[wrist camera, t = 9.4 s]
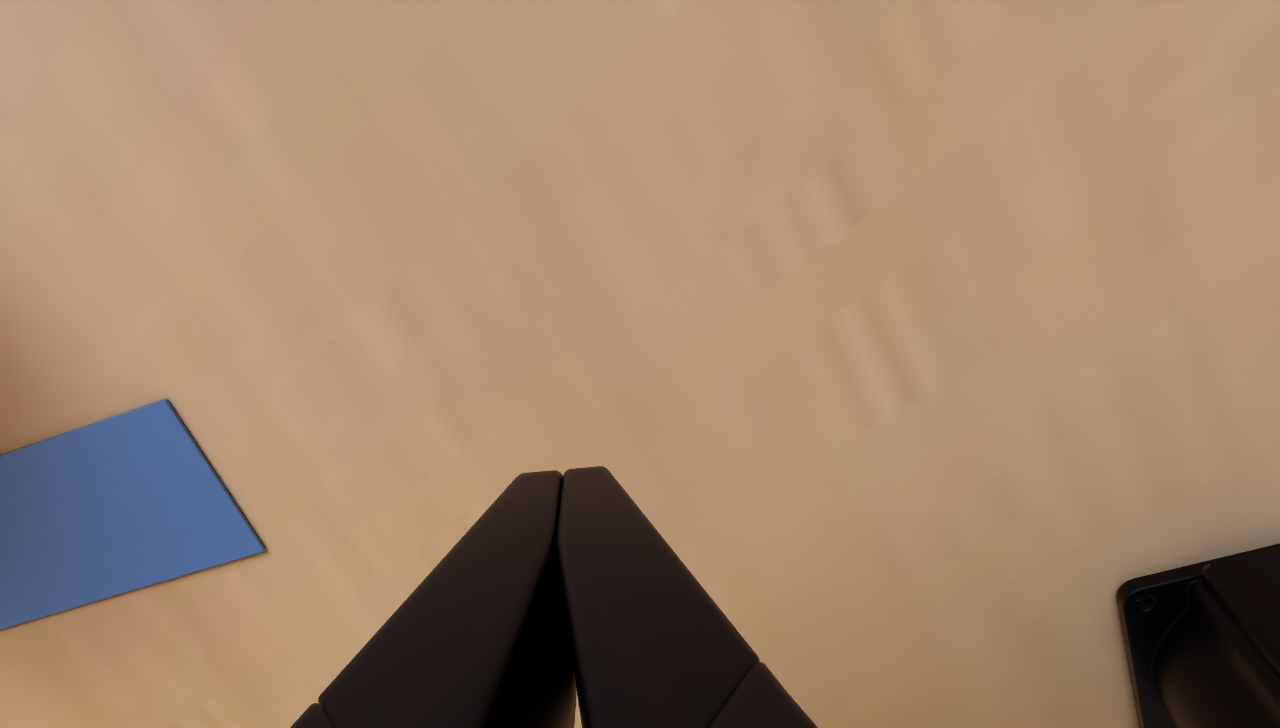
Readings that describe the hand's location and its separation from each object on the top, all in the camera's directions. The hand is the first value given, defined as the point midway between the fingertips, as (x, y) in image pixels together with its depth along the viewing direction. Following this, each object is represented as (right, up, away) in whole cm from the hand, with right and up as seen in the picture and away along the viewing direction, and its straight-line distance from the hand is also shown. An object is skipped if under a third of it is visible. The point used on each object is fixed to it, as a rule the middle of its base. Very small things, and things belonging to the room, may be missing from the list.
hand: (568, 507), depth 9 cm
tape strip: (-17, -3, +15) cm, 23 cm away
